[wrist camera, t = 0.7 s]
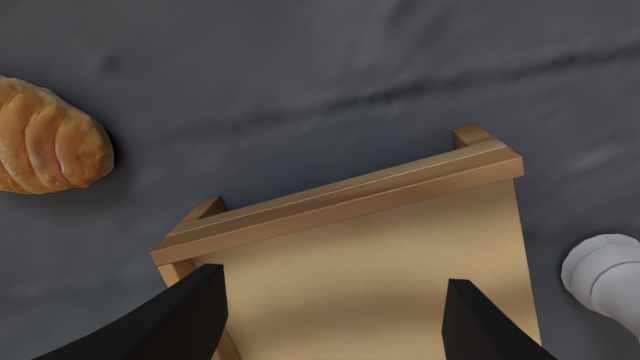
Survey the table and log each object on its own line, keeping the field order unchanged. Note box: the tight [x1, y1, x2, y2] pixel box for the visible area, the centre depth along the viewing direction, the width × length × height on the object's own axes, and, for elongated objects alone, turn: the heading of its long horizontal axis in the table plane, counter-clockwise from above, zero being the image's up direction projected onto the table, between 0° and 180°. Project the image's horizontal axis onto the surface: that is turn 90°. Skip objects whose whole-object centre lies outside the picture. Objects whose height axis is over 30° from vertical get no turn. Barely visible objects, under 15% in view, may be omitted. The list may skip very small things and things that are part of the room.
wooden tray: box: [150, 124, 542, 360], centre depth 20 cm, size 14×16×6 cm
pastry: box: [0, 76, 114, 194], centre depth 20 cm, size 9×7×4 cm
